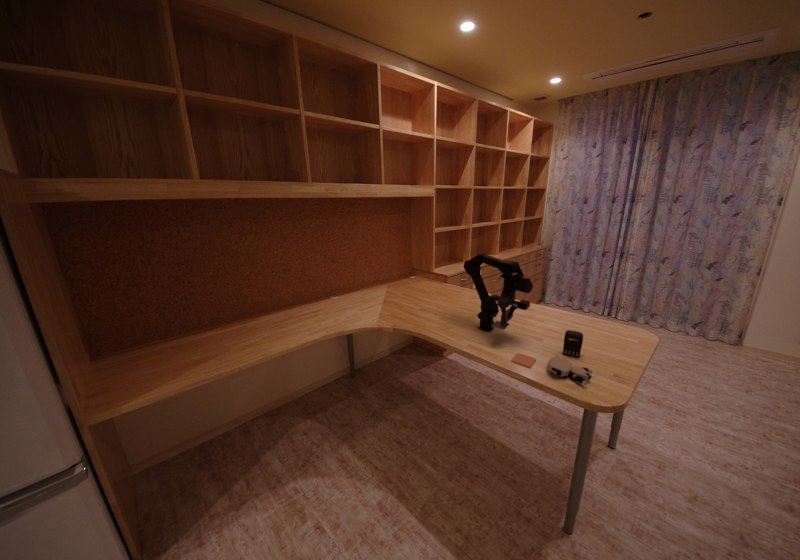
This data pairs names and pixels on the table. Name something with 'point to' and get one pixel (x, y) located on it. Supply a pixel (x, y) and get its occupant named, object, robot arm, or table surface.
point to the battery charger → (572, 343)
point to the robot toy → (568, 369)
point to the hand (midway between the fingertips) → (507, 317)
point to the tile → (523, 360)
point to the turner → (503, 321)
